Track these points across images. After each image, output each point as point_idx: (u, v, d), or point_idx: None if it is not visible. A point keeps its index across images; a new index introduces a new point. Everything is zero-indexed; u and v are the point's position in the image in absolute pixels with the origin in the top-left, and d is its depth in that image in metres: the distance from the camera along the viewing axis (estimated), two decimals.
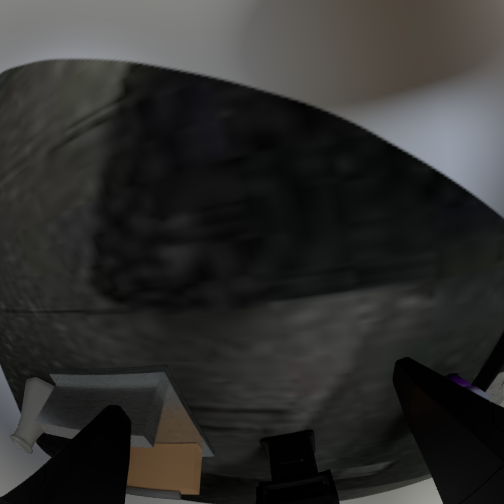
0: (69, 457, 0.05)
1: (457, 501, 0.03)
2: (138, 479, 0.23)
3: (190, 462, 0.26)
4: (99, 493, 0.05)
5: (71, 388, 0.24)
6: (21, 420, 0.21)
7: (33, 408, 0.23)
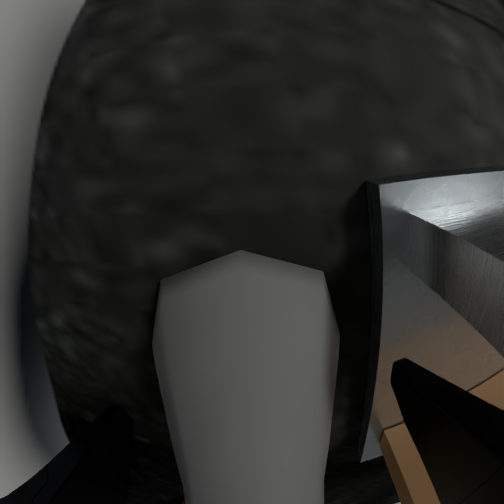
0: (71, 458, 0.05)
1: (454, 502, 0.03)
2: None
3: None
4: (101, 494, 0.05)
5: (491, 209, 0.07)
6: (218, 492, 0.04)
7: (285, 388, 0.06)
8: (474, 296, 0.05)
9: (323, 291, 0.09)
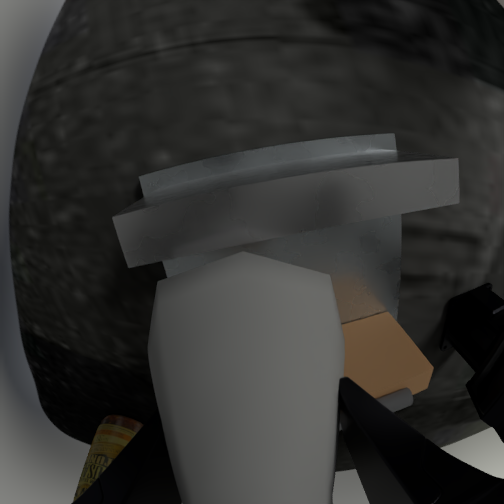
0: (128, 468, 0.05)
1: None
2: None
3: (398, 335, 0.17)
4: (160, 503, 0.05)
5: (205, 179, 0.15)
6: None
7: (293, 402, 0.05)
8: None
9: (331, 296, 0.08)
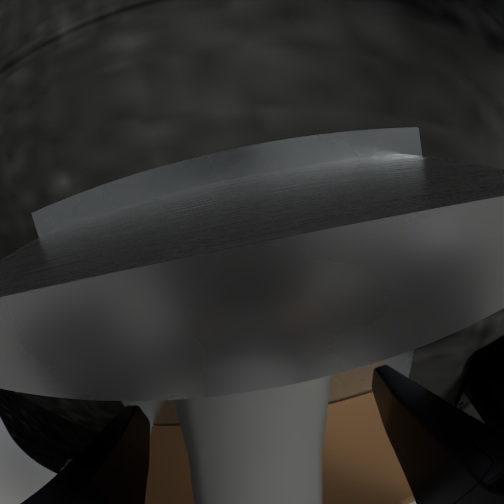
0: (89, 461, 0.05)
1: None
2: None
3: None
4: (120, 498, 0.05)
5: (93, 219, 0.08)
6: (227, 454, 0.04)
7: None
8: None
9: None
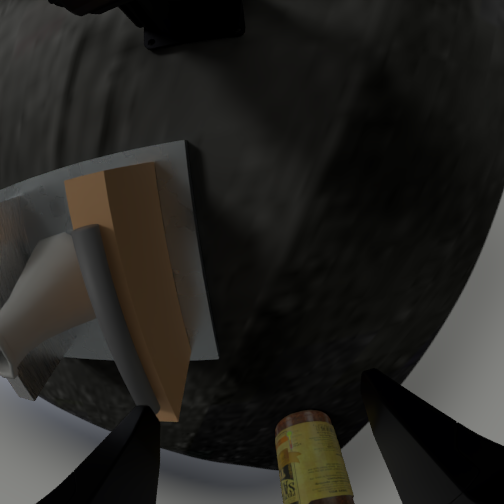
0: (100, 463, 0.05)
1: None
2: None
3: None
4: (132, 500, 0.05)
5: None
6: None
7: None
8: None
9: (35, 247, 0.16)
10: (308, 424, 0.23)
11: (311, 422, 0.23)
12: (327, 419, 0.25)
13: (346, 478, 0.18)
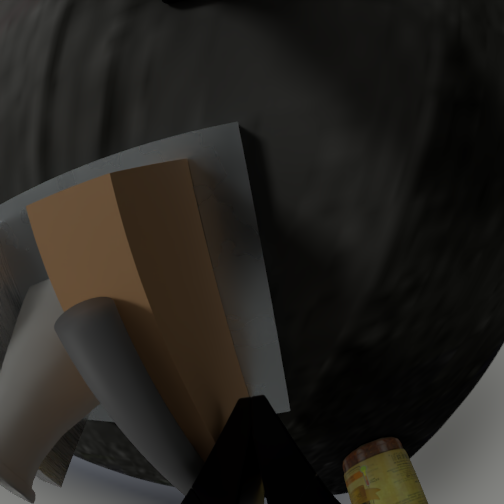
0: (226, 471, 0.05)
1: None
2: None
3: None
4: None
5: None
6: None
7: None
8: None
9: (25, 298, 0.11)
10: (383, 455, 0.17)
11: (386, 452, 0.17)
12: (399, 444, 0.19)
13: None
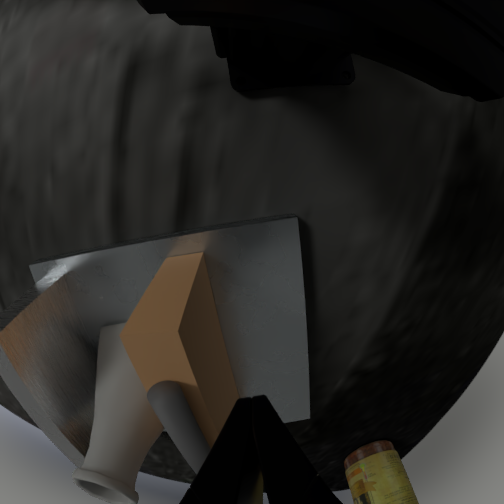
0: (225, 471, 0.05)
1: None
2: None
3: None
4: None
5: None
6: None
7: None
8: None
9: (99, 338, 0.15)
10: (378, 454, 0.21)
11: (381, 452, 0.21)
12: (392, 446, 0.23)
13: (415, 496, 0.16)
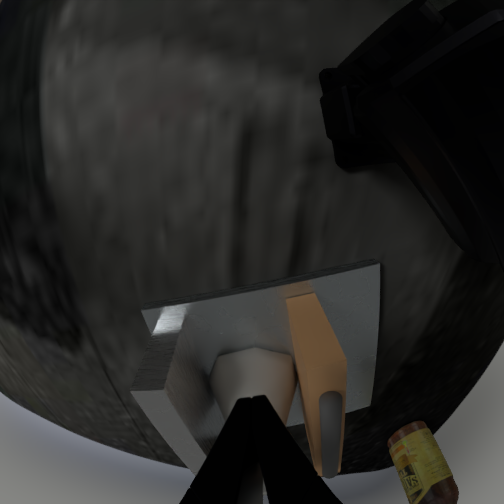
0: (225, 471, 0.05)
1: None
2: (311, 431, 0.16)
3: (294, 332, 0.16)
4: None
5: None
6: None
7: (228, 415, 0.17)
8: None
9: (221, 366, 0.19)
10: (416, 432, 0.26)
11: (418, 430, 0.26)
12: (425, 425, 0.27)
13: (447, 464, 0.20)
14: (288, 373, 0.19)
